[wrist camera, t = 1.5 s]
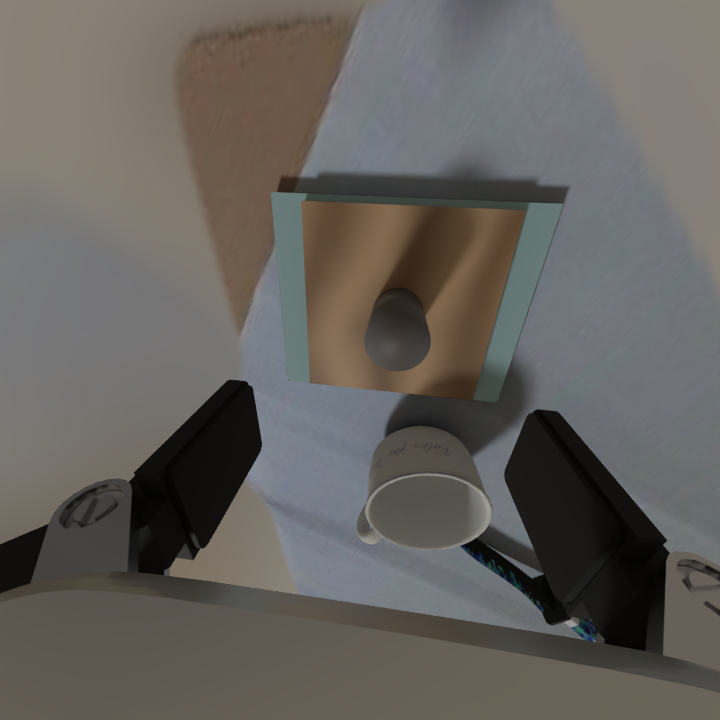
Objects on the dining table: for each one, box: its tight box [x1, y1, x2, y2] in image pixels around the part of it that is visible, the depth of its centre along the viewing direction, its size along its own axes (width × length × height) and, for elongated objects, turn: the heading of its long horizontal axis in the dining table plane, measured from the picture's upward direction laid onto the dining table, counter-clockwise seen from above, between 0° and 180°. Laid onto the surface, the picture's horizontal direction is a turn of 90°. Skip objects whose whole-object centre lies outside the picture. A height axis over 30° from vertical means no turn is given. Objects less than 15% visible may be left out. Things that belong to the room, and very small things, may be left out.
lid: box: [301, 201, 526, 400], centre depth 20 cm, size 15×15×7 cm
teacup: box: [357, 426, 492, 550], centre depth 28 cm, size 14×11×8 cm
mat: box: [271, 192, 563, 403], centre depth 23 cm, size 20×16×1 cm
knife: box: [461, 538, 597, 642], centre depth 36 cm, size 31×3×4 cm, turn 51°
